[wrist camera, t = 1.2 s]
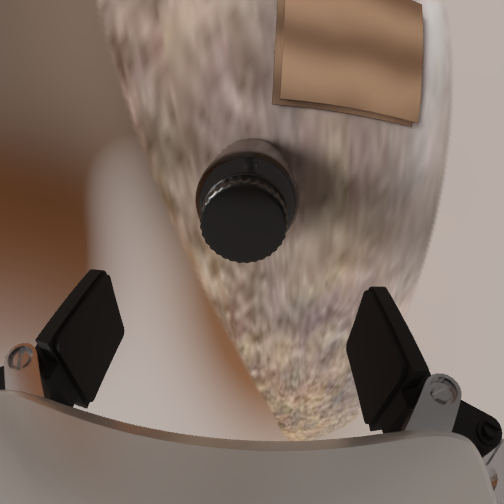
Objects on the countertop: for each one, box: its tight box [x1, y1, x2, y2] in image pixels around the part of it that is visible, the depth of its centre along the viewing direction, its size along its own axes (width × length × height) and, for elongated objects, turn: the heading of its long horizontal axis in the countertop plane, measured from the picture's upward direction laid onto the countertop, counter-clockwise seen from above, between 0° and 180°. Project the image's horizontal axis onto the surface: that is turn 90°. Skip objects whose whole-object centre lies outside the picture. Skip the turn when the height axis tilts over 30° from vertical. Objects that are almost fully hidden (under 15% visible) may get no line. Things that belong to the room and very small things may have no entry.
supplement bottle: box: [196, 139, 299, 263], centre depth 20 cm, size 7×7×12 cm
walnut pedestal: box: [272, 0, 423, 127], centre depth 18 cm, size 13×13×3 cm
